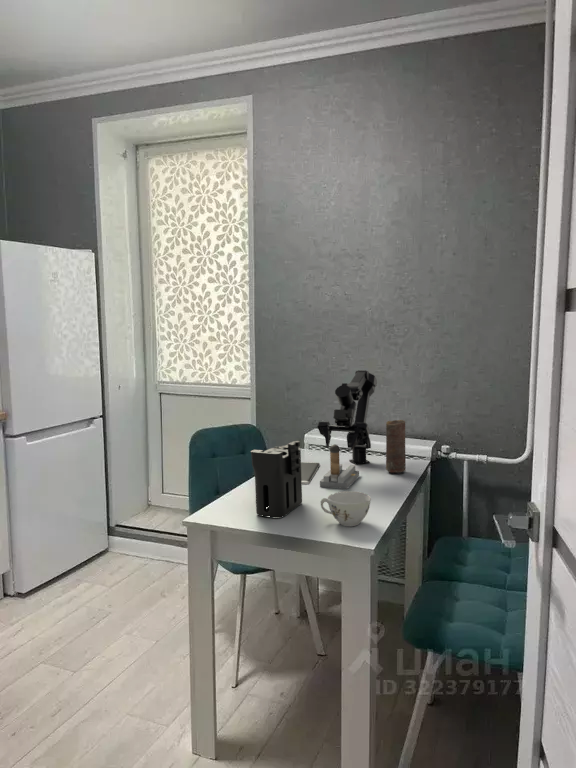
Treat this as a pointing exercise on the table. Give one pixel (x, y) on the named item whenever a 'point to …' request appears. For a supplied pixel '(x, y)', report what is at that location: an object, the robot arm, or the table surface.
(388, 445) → the candle
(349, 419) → the robot arm
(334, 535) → the table surface
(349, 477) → the slider console
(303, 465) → the smartphone
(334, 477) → the lever
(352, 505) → the teacup
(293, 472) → the black machined bracket
